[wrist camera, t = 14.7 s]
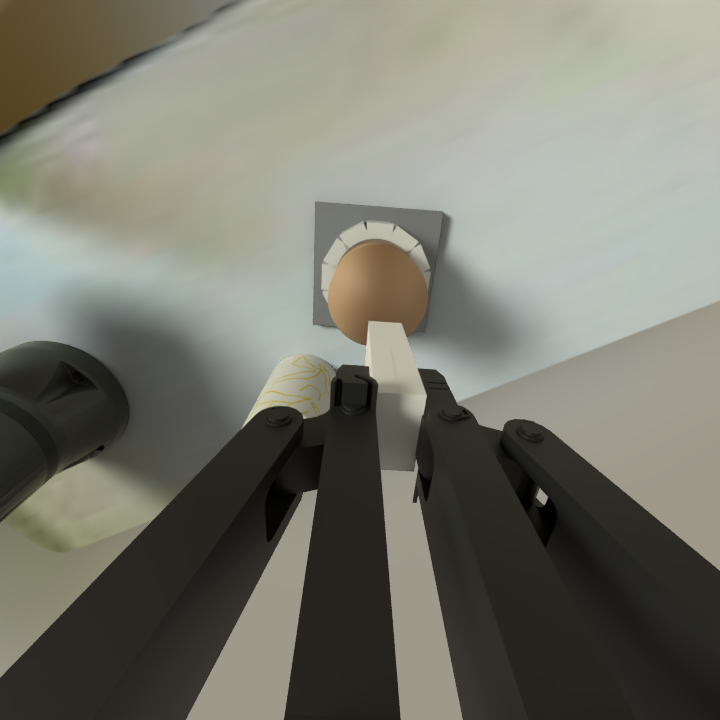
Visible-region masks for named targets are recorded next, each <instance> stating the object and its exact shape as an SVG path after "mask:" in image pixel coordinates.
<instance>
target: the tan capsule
mask: <svg viewBox="0 0 720 720" xmlns="http://www.w3.org/2000/svg"><path fill="white" fill-rule="evenodd" d="M427 301H428V291H427V285H426V282H425V279H424V277H423V275H422V273H421V271H420V270H419V268H418V267H417V265H416V264H415V263H414V262H413V261H412V260H411V259H410V258H409V256H408V255H407V254H406V253H405V252H404V251H403V250H402V249H401V248H400V247H399V246H397V245H396V244H394V243H392V242H390V241H387V240H383V239H367V240H364V241H361V242H358V243H356V244H355V245H353V246H352V247H350V248H349V249H348V250H347V251H346V252H345V253H344V255H343V256H342V257H341V259H340V261H339V263H338V265H337V268H336V270H335V272H334V275H333V277H332V279H331V282H330V285H329V289H328V307H329V311H330V314H331V317H332V319H333V321H334V323H335V324H336V326H337V327H338V329H339V330H340V331H341V332H342V333H343V334H344V335H345V336H347V337H348V338H349V339H351V340H353V341H355V342H357V343H360V344H362V345H366V346H367V334H368V322H369V321H378V322H392V323H402V326H403V329H404V332H405V334H406V337H407V336H409V335H410V334H411V333H412V332H413V331H414V330H415V329H416V328H417V327H418V325H419V324H420V322H421V320H422V318H423V317H424V314H425V311H426V307H427Z"/></svg>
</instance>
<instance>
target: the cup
mask: <svg viewBox="0 0 720 720" xmlns="http://www.w3.org/2000/svg"><path fill="white" fill-rule="evenodd" d="M335 376H336V373H335V371H334V370H333V368H332V367H331V366H330V365H329V364H328V363H327V362H325V361H324V360H322V359H320V358H318V357H316V356H313V355H308V354H296V355H292V356H289V357H287V358H285V359H283V360H282V361H280V362H279V363H278V364H277V365H276V367H275V368H274V370H273V372H272V373H271V375H270V377H269V379H268V381H267V383H266V384H265V386H264V388H263V390H262V392H261V394H260V396H259V397H258V399H257V401H256V403H255V405H254V407H253V408H252V410H251V412H250V414H249V416H248V418H247V419H246V421H245V423H244V425H243V427H244V426H245V425H246V424H247V423H248V422H249V421H250V420H251V419H252V418H253V417H254V416H255V415H256V414H257V413H258V412H260V411H261V410H263V409H266V408H269V407H273V406H288V407H292V408H295V409H297V410H298V411H299V412H301V413H302V416H303V418H304V419H305V418H312V417H317V416H319V415H322V414H324V413H326V412H327V411H328V410H329V409H330V390H331V381H332V379H333V378H334V377H335ZM243 427H242V428H243Z"/></svg>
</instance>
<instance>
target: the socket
mask: <svg viewBox="0 0 720 720" xmlns="http://www.w3.org/2000/svg"><path fill="white" fill-rule="evenodd" d="M442 218H443V212H441V211H428V210H416V209H403V208H390V207H377V206H365V205H352V204H339V203H326V202H315V244H314V301H313V325H324V326H336V324H335V323H334V321H333V319H332V317H331V314H330V311H329V307H328V289H329V285H330V282H331V279H332V277H333V275H334V272H335V270H336V268H337V265H338V263H339V261H340V259H341V257H342V256H343V255H344V253H345V252H346V251H347V250H348V249H349V248H350V247H352V246H353V245H355V244H356V243H358V242H361V241H364V240H367V239H383V240H387V241H390V242H392V243H394V244H396V245H397V246H399V247H400V248H401V249H402V250H403V251H404V252H405V253H406V254H407V255H408V256H409V258H410V259H411V260H412V261H413V262H414V263H415V264H416V265H417V267H418V268H419V270H420V271H421V273H422V275H423V277H424V279H425V282H426V285H427V291H428V301H427V307H426V311H425V314H424V317H423V318H422V320H421V322H420V324H419V325H418V327H417V328H416V329H415V330H414V331H413V332H423V333H425V327H426V321H427V314H428V308H429V301H430V295H431V289H432V282H433V276H434V269H435V263H436V257H437V250H438V244H439V237H440V231H441V224H442Z"/></svg>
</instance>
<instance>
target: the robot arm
mask: <svg viewBox="0 0 720 720" xmlns="http://www.w3.org/2000/svg"><path fill="white" fill-rule="evenodd" d="M128 417H129V410H128V404H127V400H126V397H125V395H124V392H123V390H122V388H121V387H120V385H119V383H118V382H117V381H116V379H115V378H114V377H113V375H112V374H111V373H110V372H109V371H108V370H107V369H106V368H105V367H104V366H103V365H101V364H100V363H99V362H98V361H96V360H95V359H93V358H92V357H90V356H89V355H87V354H85V353H84V352H82V351H80V350H78V349H75V348H73V347H70V346H67V345H64V344H60V343H56V342H49V341H34V342H27V343H24V344H21V345H18V346H16V347H13V348H11V349H8V350H6V351H4V352H2V353H0V523H1V522H2V521H3V520H4V519H5V518H6V517H7V516H8V515H10V514H11V513H12V512H13V511H14V510H15V509H16V508H18V507H19V506H20V505H21V504H22V503H23V502H24V501H25V500H27V499H28V498H29V497H30V496H31V495H32V494H33V493H35V492H36V491H37V490H38V489H39V488H40V487H41V486H42V485H43V484H45V483H46V482H47V481H48V480H49V479H50V478H52V477H53V476H54V475H56V474H58V473H60V472H62V471H64V470H67V469H69V468H71V467H73V466H75V465H77V464H80V463H82V462H84V461H86V460H88V459H90V458H93V457H95V456H97V455H99V454H100V453H102V452H103V451H105V450H106V449H108V448H109V447H110V446H111V445H112V444H113V443H114V442H115V441H116V440H117V439H118V438H119V437H120V436H121V435H122V434H123V432H124V430H125V428H126V426H127V423H128ZM416 459H417V464H418V473H417V479H416V485H415V490H414V496H413V503H416V502H417V497H418V496H419V499H420V504H421V510H422V515H423V520H424V525H425V530H426V535H427V540H428V545H429V550H430V555H431V560H432V565H433V571H434V575H435V581H436V586H437V591H438V596H439V601H440V606H441V611H442V616H443V621H444V626H445V631H446V636H447V642H448V647H449V651H450V656H451V662H452V667H453V672H454V676H455V682H456V687H457V692H458V697H459V702H460V707H461V712H462V718H463V720H720V571H719V570H718V569H717V568H716V567H715V566H713V565H712V564H711V563H710V562H708V561H707V560H706V559H705V558H703V557H702V556H701V555H700V554H699V553H697V552H696V551H695V550H694V549H693V548H691V547H690V546H689V545H688V544H686V543H685V542H684V541H683V540H682V539H680V538H679V537H678V536H677V535H676V534H675V533H673V532H672V531H671V530H670V529H668V528H667V527H666V526H665V525H664V524H662V523H661V522H660V521H659V520H657V519H656V518H655V517H654V516H653V515H651V514H650V513H649V512H648V511H646V510H645V509H644V508H643V507H642V506H641V505H639V504H638V503H637V502H636V501H635V500H633V499H632V498H631V497H630V496H628V495H627V494H626V493H625V492H623V491H622V490H621V489H620V488H619V487H618V486H616V485H615V484H614V483H613V482H611V481H610V480H609V479H608V478H607V477H605V476H604V475H603V474H602V473H601V472H599V471H598V470H597V469H596V468H594V467H593V466H592V465H591V464H589V463H588V462H587V461H586V460H585V459H584V458H582V457H581V456H580V455H579V454H577V453H576V452H575V451H574V450H573V449H571V448H570V447H569V446H568V445H567V444H565V443H564V442H563V441H562V440H561V439H559V438H558V437H557V436H556V435H555V434H553V433H552V432H551V431H550V430H548V429H546V428H545V427H543V426H542V425H539V424H537V423H535V422H533V421H528V420H524V419H523V420H520V419H514V420H510V421H508V422H507V423H505V425H504V428H503V431H500V430H496V429H492V428H487V427H484V426H481V425H479V424H478V422H477V420H476V419H475V417H474V415H473V414H472V413H471V412H470V411H469V410H467V409H466V408H464V407H462V406H459V405H457V403H456V400H455V398H454V396H453V394H452V392H451V390H450V388H449V386H448V384H447V382H446V380H445V378H444V376H443V375H442V374H440V373H439V372H438V371H436V370H433V369H418V368H417V366H416V363H415V360H414V357H413V354H412V352H411V349H410V346H409V343H408V340H407V337H406V334H405V332H404V329H403V326H402V323H392V322H378V321H369V322H368V334H367V346H366V358H365V366H357V365H342V366H341V367H340V368H339V369H337V372H336V376H335V377H334V378H333V379H332V381H331V390H330V409H329V410H328V411H327V412H326V413H324V414H322V415H319V416H317V417H312V418H305V419H304V418H303V416H302V413H301V412H299V411H298V410H297V409H295V408H292V407H288V406H273V407H269V408H266V409H263V410H261V411H260V412H258V413H257V414H256V415H255V416H254V417H253V418H252V419H251V420H250V421H249V422H248V423H247V424H246V425H245V426H244V427H243V428H242V429H241V430H240V431H239V432H238V433H237V434H236V435H235V436H234V437H233V438H232V439H231V440H230V441H229V442H228V443H227V445H226V446H225V447H224V448H223V449H222V450H221V451H220V452H219V453H218V454H217V455H216V456H215V457H214V458H213V459H212V460H211V461H210V462H209V463H208V464H207V465H206V466H205V467H204V468H203V469H202V470H201V471H200V472H199V473H198V474H197V475H196V476H195V478H194V479H193V480H192V481H191V482H190V483H189V484H188V485H187V486H186V487H185V488H184V489H183V490H182V491H181V492H180V493H179V494H178V495H177V496H176V497H175V498H174V499H173V500H172V501H171V502H170V503H169V504H168V505H167V506H166V507H165V508H164V509H163V511H162V512H161V513H160V514H159V515H158V516H157V517H156V518H155V519H154V520H153V521H152V522H151V523H150V524H149V525H148V526H147V527H146V528H145V529H144V530H143V531H142V532H141V533H140V534H139V535H138V536H137V537H136V538H135V539H134V540H133V541H132V542H131V544H130V545H129V546H128V547H127V548H126V549H125V550H124V551H123V552H122V553H121V554H120V555H119V556H118V557H117V558H116V559H115V560H114V561H113V562H112V563H111V564H110V565H109V566H108V567H107V568H106V569H105V570H104V571H103V572H102V574H100V575H99V577H98V578H97V579H96V580H95V581H94V582H93V583H92V584H91V585H90V586H89V587H88V588H87V589H86V590H85V591H84V592H83V593H82V594H81V595H80V596H79V597H78V598H77V599H76V600H75V601H74V602H73V603H72V604H71V605H70V607H69V608H67V610H66V611H65V612H64V613H63V614H62V615H61V616H60V617H59V618H58V619H57V620H56V621H55V622H54V623H53V624H52V625H51V626H50V627H49V628H48V629H47V630H46V631H45V632H44V633H43V634H42V635H41V636H40V637H39V638H38V640H36V642H35V643H34V644H33V645H32V646H31V647H30V648H29V649H28V650H27V651H26V652H25V653H24V654H23V655H22V656H21V657H20V658H19V659H18V660H17V661H16V662H15V663H14V664H13V665H12V666H11V667H10V668H9V669H8V670H7V671H6V672H5V674H4V675H3V676H2V677H1V678H0V720H186V718H187V716H188V714H189V712H190V711H191V709H192V707H193V705H194V703H195V701H196V699H197V697H198V695H199V693H200V691H201V689H202V687H203V686H204V684H205V682H206V680H207V678H208V676H209V674H210V672H211V670H212V669H213V667H214V665H215V663H216V661H217V659H218V657H219V655H220V653H221V651H222V649H223V647H224V646H225V644H226V641H227V640H228V638H229V636H230V634H231V632H232V630H233V628H234V627H235V625H236V623H237V621H238V619H239V617H240V615H241V613H242V611H243V609H244V607H245V606H246V604H247V602H248V600H249V598H250V596H251V594H252V592H253V590H254V588H255V586H256V584H257V583H258V581H259V579H260V577H261V575H262V573H263V571H264V569H265V567H266V565H267V564H268V562H269V560H270V558H271V556H272V554H273V552H274V550H275V548H276V546H277V545H278V543H279V541H280V539H281V537H282V535H283V533H284V531H285V529H286V527H287V525H288V523H289V521H290V520H291V518H292V516H293V514H294V512H295V510H296V508H297V506H298V504H299V503H300V501H301V498H302V494H303V492H307V491H311V490H316V489H318V491H317V498H316V505H315V512H314V519H313V525H312V532H311V539H310V546H309V554H308V560H307V566H306V573H305V581H304V587H303V594H302V601H301V608H300V614H299V622H298V628H297V635H296V642H295V649H294V656H293V663H292V669H291V676H290V683H289V690H288V696H287V703H286V710H285V717H284V720H401V719H400V706H399V695H398V682H397V670H396V657H395V644H394V632H393V619H392V607H391V594H390V582H389V569H388V558H387V545H386V533H385V521H384V508H383V495H382V483H381V471H380V470H398V471H414V467H415V461H416ZM539 488H541V490H542V491H543V492H544V493H545V494H546V495H547V496H548V499H547V502H546V504H545V505H543V504H542V503H541V502H540V501H539V500H538V499H537V498H536V496H537V493H538V491H539Z"/></svg>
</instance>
